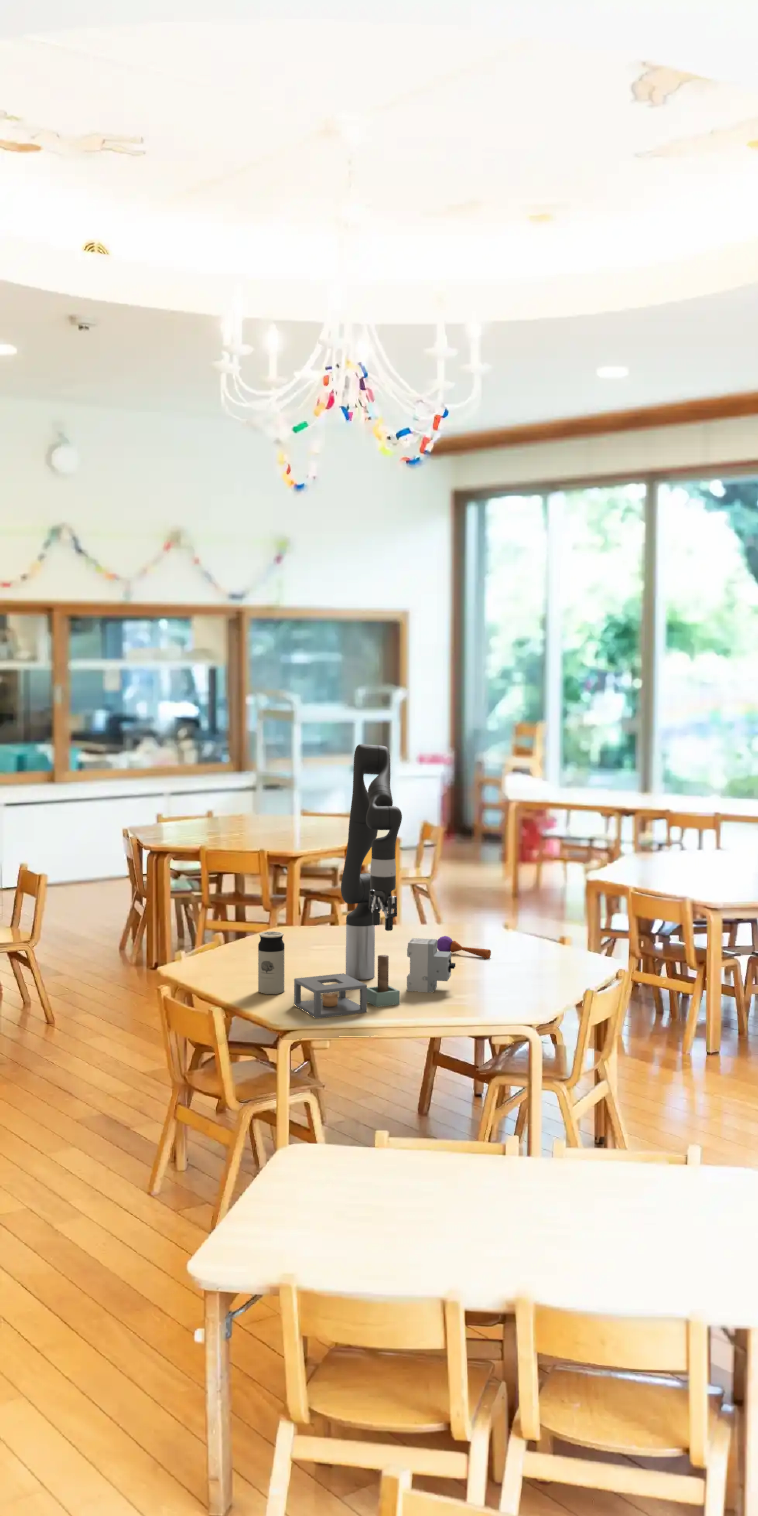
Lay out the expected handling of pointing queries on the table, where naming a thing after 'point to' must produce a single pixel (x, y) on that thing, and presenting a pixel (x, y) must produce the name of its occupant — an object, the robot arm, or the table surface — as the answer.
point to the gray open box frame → (318, 988)
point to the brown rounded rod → (383, 973)
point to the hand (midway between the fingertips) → (382, 927)
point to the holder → (383, 996)
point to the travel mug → (271, 963)
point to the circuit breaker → (427, 965)
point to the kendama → (460, 947)
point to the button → (330, 999)
